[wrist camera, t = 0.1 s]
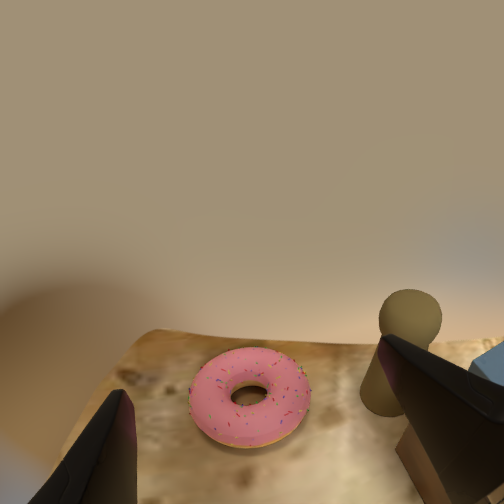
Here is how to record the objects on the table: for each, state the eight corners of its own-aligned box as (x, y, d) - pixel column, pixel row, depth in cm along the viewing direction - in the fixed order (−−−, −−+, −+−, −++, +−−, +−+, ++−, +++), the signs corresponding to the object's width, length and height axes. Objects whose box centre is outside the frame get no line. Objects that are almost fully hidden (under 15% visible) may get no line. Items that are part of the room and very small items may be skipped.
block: (523, 420, 12) (556, 374, 10) (481, 455, 12) (518, 412, 10) (490, 380, 17) (514, 332, 15) (447, 407, 16) (472, 359, 14)
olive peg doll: (388, 427, 21) (421, 339, 17) (347, 389, 26) (360, 297, 22) (429, 392, 24) (464, 301, 19) (389, 360, 29) (408, 271, 24)
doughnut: (249, 479, 19) (242, 459, 17) (172, 406, 27) (159, 379, 25) (333, 399, 26) (337, 371, 24) (252, 350, 33) (248, 322, 31)
